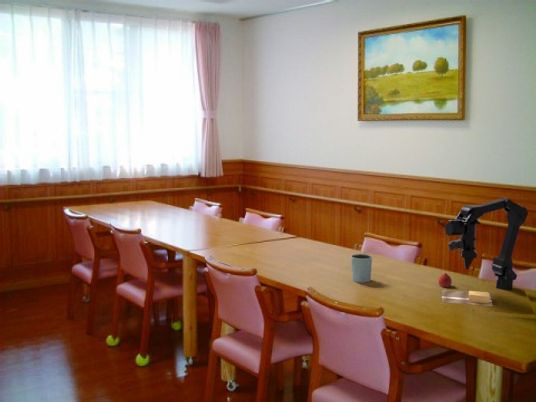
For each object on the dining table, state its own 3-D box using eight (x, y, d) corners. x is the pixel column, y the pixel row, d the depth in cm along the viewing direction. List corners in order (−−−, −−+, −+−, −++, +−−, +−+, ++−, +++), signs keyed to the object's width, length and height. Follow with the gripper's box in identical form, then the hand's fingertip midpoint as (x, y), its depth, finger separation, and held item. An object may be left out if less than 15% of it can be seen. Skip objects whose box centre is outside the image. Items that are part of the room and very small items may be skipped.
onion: (448, 287, 273) (449, 270, 272) (453, 290, 268) (453, 273, 267) (436, 287, 273) (437, 270, 272) (440, 290, 268) (441, 273, 266)
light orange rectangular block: (488, 299, 250) (488, 292, 250) (488, 303, 245) (489, 296, 244) (468, 297, 253) (469, 290, 252) (468, 301, 247) (468, 294, 247)
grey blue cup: (371, 283, 280) (371, 259, 278) (349, 282, 282) (350, 258, 280) (371, 278, 289) (372, 254, 288) (351, 276, 291) (351, 253, 290)
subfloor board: (489, 296, 258) (489, 293, 258) (492, 309, 241) (492, 306, 241) (442, 293, 264) (442, 289, 264) (441, 305, 247) (441, 301, 247)
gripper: (448, 229, 268) (446, 263, 270) (450, 237, 250) (448, 273, 252) (474, 231, 265) (472, 264, 267) (477, 239, 247) (475, 275, 249)
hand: (466, 269), depth 259 cm, fingers closed
